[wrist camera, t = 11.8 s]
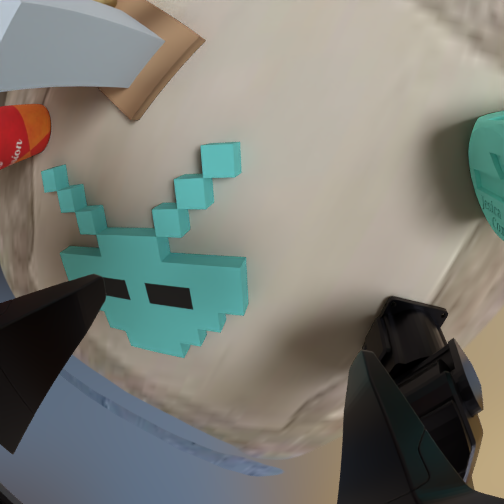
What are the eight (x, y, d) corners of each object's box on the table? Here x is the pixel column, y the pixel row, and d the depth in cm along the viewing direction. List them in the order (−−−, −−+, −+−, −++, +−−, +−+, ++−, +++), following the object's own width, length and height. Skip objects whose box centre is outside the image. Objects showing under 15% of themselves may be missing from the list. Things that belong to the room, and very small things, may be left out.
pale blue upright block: (165, 41, 15) (21, 2, 4) (128, 88, 17) (-20, 95, 6) (121, 10, 14) (-4, -20, 3) (90, 53, 16) (-38, 51, 5)
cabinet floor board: (205, 40, 16) (180, 24, 12) (139, 119, 19) (105, 122, 15) (129, -10, 14) (99, -23, 10) (77, 60, 17) (45, 58, 14)
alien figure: (56, 166, 23) (99, 323, 32) (41, 171, 21) (90, 333, 30) (241, 141, 19) (252, 352, 28) (233, 143, 17) (247, 368, 26)
